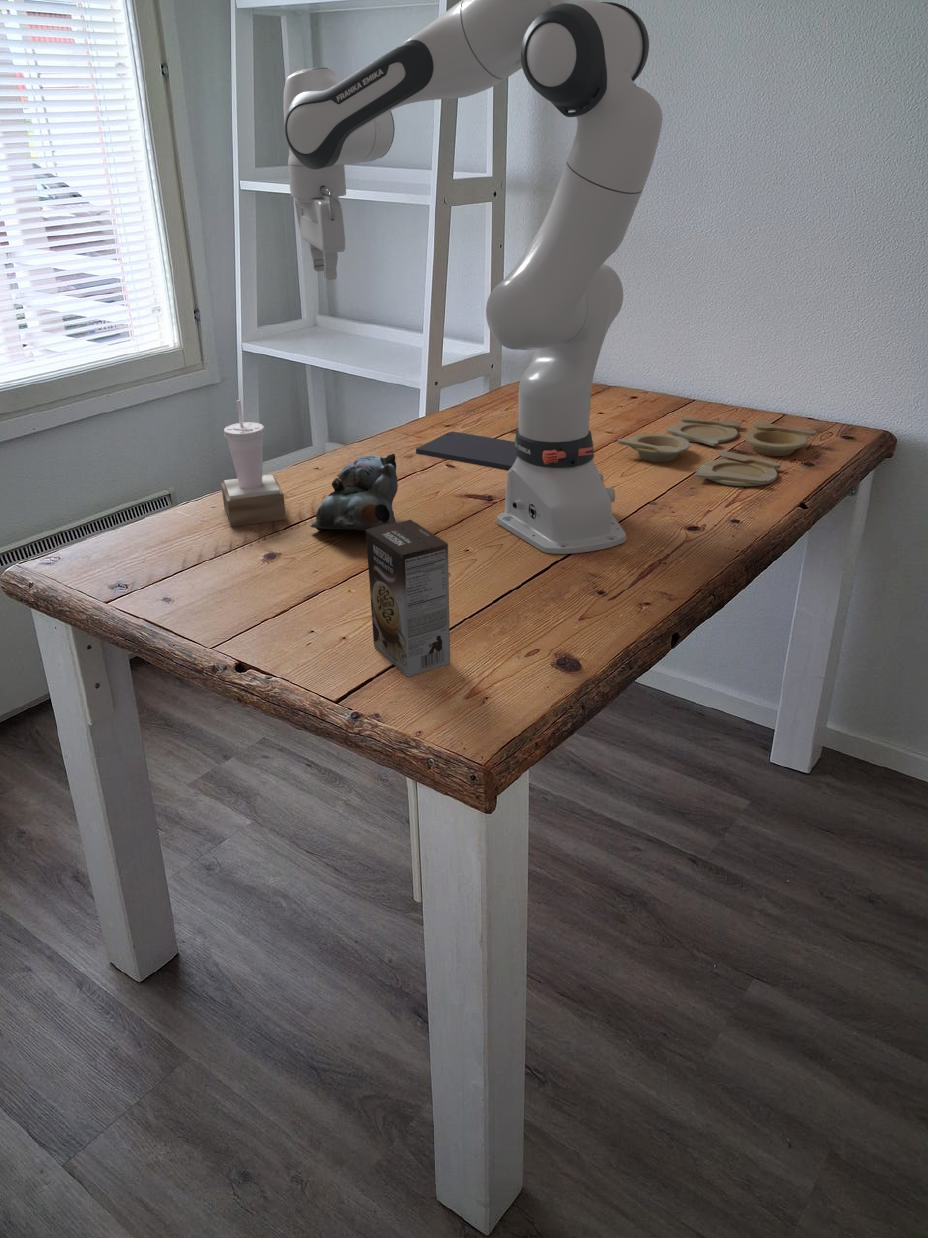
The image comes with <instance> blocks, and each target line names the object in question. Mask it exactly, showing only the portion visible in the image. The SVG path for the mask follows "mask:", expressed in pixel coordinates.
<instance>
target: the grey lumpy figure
mask: <svg viewBox="0 0 928 1238" xmlns="http://www.w3.org/2000/svg"><path fill="white" fill-rule="evenodd" d="M398 484H399V483H398V476H397V463H396V454H395V453H390V454H388V455H387V456H386V457H383V456H379V455H368V454H367V455H364V456H358V457H356V459H355V460H354V461H351V462H350V463H348V464H346V465H345V466H344V467H343V469H342V470H341V471H340V473H338V477H335V478H334V479H333V480H332V482H331V487H332V488H333V490H334V491H331V492H330V493H329V494H328V495H327V497H326V498H324V499H323V500H322V502H321V504H320V506H319V507H318V509H317V511H316V513H315V521H314V522H312V523H311V524H310V525H309V527H311V528H314V529H316V530H317V531H321V530H355V531H356V530H357V531H363V532H365V530H367V529H370V528H374V527H378V526H382V525H385V524H391V523H397V522H396V517H395V513H394V510H393V503H394V502H393V501H394V499H395V497H396V495H397V493H398V487H399V485H398Z"/></svg>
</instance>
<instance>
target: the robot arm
mask: <svg viewBox="0 0 928 1238" xmlns="http://www.w3.org/2000/svg"><path fill="white" fill-rule="evenodd" d="M649 51H650V38H649V34H648V29H647V28H646V26H645V23H644V21H643V20H642V19H641V17H640V16H639V15H638V14H637V13H636V12H635V11H634V10H632V9H631V8H629V7H627V6H625V5H622V4H619V3H617V2H609V1H597V0H580V1H576V2H570V3H567V2H566V1H565V0H460V1H459V2H457V3H456V4H454V5H453V6H452V7H451V8H449V9H448V10H447V11H445V12H444V13H443V14H441V15H439V16H438V17H437V18H435V19H434V21H432V22H430V23H429V24H428V25H427V26H425V27H424V28H422V29H421V30H419V31H418V32H416V33H415V34H413V35H412V36H409V38H407V39H406V40H405V41H403V42H402V43H400V44H399V45H397V46H396V47H395V48H393V49H391V50H390V51H388V52H386V53H384V54H383V55H381V56H380V57H378V58H376V59H375V60H372V61H371V62H370V63H368V64H367V65H365V66H363V67H362V68H360V69H359V70H357V71H355V72H354V73H352V74H351V75H349V76H347V77H346V78H344V79H341V78H340V77H339V75H337V73H336V72H335V71H334V70H332V68H331V69H330V68H328V67H323V66H322V67H312V68H304V69H300V70H297V71H295V72H293V73H290V75H288V76H287V78H286V80H285V83H284V89H283V121H284V134H285V139H286V142H287V144H288V148H289V150H288V159H287V160H288V161H287V164H288V167H287V168H288V176H289V178H288V179H289V191H290V196H291V197H292V198H294V203H295V204H294V205H295V211H296V218H297V223H298V229H299V232H300V235H301V238H302V240H304V241H306V242H308V244H309V245H308V247H309V251H310V255H311V259H312V269H313V270H314V271H315V272H323V276H324V278H325V279H326V280H328V281H331V280H336V279H337V277H338V275H337V273H338V272H337V265H338V257H339V255H338V253H343V252H344V251H345V249H346V235H345V226H344V225H345V224H344V223H345V222H344V214H343V208H342V204H341V202H340V198H339V197H344V196H346V195H347V187H346V184H347V183H346V171H345V165H352V164H359V163H368V162H373V161H376V160H378V159H381V158H383V157H385V155H387V154H388V152H389V150H390V148H391V147H392V145H393V142H394V137H395V121H394V116H393V113H392V111H393V110H395V109H398V108H400V107H403V106H405V105H406V106H407V105H409V104H414V103H419V102H427V101H438V100H450V99H451V100H452V99H462V98H467V97H470V96H474V95H476V94H478V93H481V92H484V91H486V90H489V89H491V88H493V87H495V86H496V85H498V84H500V83H501V82H503V81H505V80H506V79H508V78H509V77H511V76H512V75H514V74H515V73H516V72H518V71H520V70H521V69H522V71H523V74H524V76H525V78H526V80H527V82H528V83H529V84H530V86H531V87H532V88H533V89H534V91H536V92H537V93H538V94H539V95H540V96H541V97H543V98H544V99H545V100H547V101H549V102H550V103H551V104H552V105H553V106H554V107H555V108H556V109H557V110H558V111H559V112H560V113H561V114H562V115H563V116H564V117H566V118H576V121H577V127H576V132H575V136H574V140H573V142H572V146H571V148H570V151H569V154H568V157H567V160H566V162H565V165H564V168H563V171H562V174H561V177H560V180H559V183H558V185H557V188H556V190H555V194H554V196H553V199H552V202H551V204H550V206H549V209H548V212H547V213H546V216H545V218H544V220H543V222H542V223H541V226H540V228H539V229H538V231H537V233H536V234H535V236H534V238H533V239H532V241H531V242H530V244H529V245H528V246H527V248H526V250H525V251H524V253H523V254H522V256H521V258H520V260H519V261H518V262H517V264H515V266H514V267H513V268H512V270H511V271H510V272H509V274H508V275H507V276H505V278H504V279H503V280H502V281H500V282H499V283H498V284H497V285H496V286H495V287H494V288H493V289H492V291H491V292H490V293H489V296H488V299H487V301H486V307H485V308H486V309H485V316H486V322H487V326H488V329H489V331H490V333H491V334H492V336H493V338H494V339H495V340H496V342H498V344H500V345H502V346H503V347H504V348H506V349H508V350H509V349H510V350H514V351H515V350H517V351H518V350H519V351H534V354H533V357H532V359H531V361H530V364H529V365H528V367H527V368H526V370H525V372H523V374H522V376H521V379H520V381H519V383H518V429H517V430H516V431H515V439H514V442H515V453H516V455H517V458H516V460H515V462H514V464H513V466H512V467H511V468H510V470H509V471H508V470H507V473H506V485H505V487H506V488H505V497H504V498H505V500H504V510H503V512H500V514H498V515H497V517H496V523H497V525H499V526H501V527H502V528H503V529H505V530H507V531H509V532H510V533H512V534H514V535H516V537H518V538H520V539H522V540H523V541H525V542H527V543H528V544H530V545H531V546H533V547H535V548H536V549H537V550H540V551H541V552H543V553H545V554H557V555H559V554H563V555H565V554H566V555H567V554H577V553H578V554H579V553H580V554H581V553H586V552H587V553H588V552H593V551H599V550H604V549H609V548H613V547H615V546H619V545H621V544H623V543H624V542H626V541H627V534H626V532H625V530H624V529H623V528H622V526H621V525H620V523H619V521H618V520H617V519H616V518H615V516H614V515H613V513H612V512H613V510H612V503H614V502H615V499H616V492H615V489H614V488H613V487H606V486H605V483H604V474H603V473H599V470H598V468H597V466H596V464H595V461H594V458H595V452H594V451H595V450H594V449H595V447H594V440H593V438H592V435H593V434H592V431H591V430H590V420H591V419H590V416H591V403H592V402H591V399H592V398H591V397H592V387H593V381H594V375H595V371H596V366H597V365H598V364H597V363H598V360H599V358H600V353H601V350H602V347H603V344H604V342H605V339H606V336H607V333H608V331H609V329H610V326H611V324H613V321H614V320H615V319H616V318H617V316H618V314H619V313H620V312H621V309H622V306H623V304H624V287H623V283H622V281H621V279H620V276H619V275H618V273H617V272H616V271H615V270H614V269H613V268H612V267H611V266H609V265H608V264H606V263H605V262H606V261H607V260H608V259H609V258H610V257H611V256H612V255H613V254H614V253H615V252H616V251H617V250H618V248H619V247H620V246H621V244H622V242H623V240H624V238H625V236H626V234H627V231H628V228H629V226H630V224H631V220H632V218H633V216H634V214H635V211H636V209H637V206H638V203H639V200H640V198H641V196H642V194H643V191H644V189H645V186H646V183H647V180H648V178H649V175H650V172H651V170H652V166H653V164H654V159H655V156H656V152H657V149H658V144H659V140H660V138H661V137H660V135H661V131H662V127H663V126H662V125H663V111H662V108H661V105H660V104H659V101H657V100H656V98H655V97H654V96H653V95H652V94H651V93H650V92H649V91H647V89H644V88H642V87H640V86H639V85H637V84H636V83H635V81H636V80H637V79H638V77H639V76H640V75H641V73H642V71H643V70H644V68H645V66H646V63H647V60H648V56H649Z"/></svg>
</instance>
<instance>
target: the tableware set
mask: <svg viewBox="0 0 928 1238" xmlns="http://www.w3.org/2000/svg"><path fill="white" fill-rule="evenodd" d="M742 424H743V423H742V422H741V421H736V420H735V421H734V420H712V419H703V418H696V417H695V418H694V417H685V416H682V417H681V419H680V422H679V423H676V424H674V425H672V426H671V427H667V428H666V430H665V431H666V432H665V433H641V434H636V435H634V436H632V437H630V438H629V439H628V438H627V439H626V438H618V439H617V444H619V445H623V446H628V447H630V449H632V450H635V451H636V452H637V453H638V454H639V458H640V459H642V460H644V461H648V462H653V463H669V462H672V461H674V460H676V459H677V458H678V456H679V454H681V453H683V452H686V451H688V450H689V448H690V447H691V443H697V444H698V443H699V444H705V445H708V446H711V447H717V446H718V445H719V444H720V443H721V444H722V443H728V442H730V441H733V440H735V439H736V438H737V437H738V435H739V433H738V430H737V429H736V428H740V427H741V426H742ZM753 427H754V428H755V429H754V430H753V429H752V430H749V431H748V432H746V433H745V434H744V440H745V442H746V443H748V444H750V445H751V446H754V449H755V451H756V452H757V453H758V454H759V453H760V454H761V455H766V456H772V457H785V456H789V455H791V454H793V452H795V450H797V449H800V448H802V447H805V446H806V445H807V443H808V438H807V437H806V436H809V437H814V436H817V432H818V431H816V430H814V429H806V428H795V427H787V426H782V425H781V426H780V425H776V424H773V423H770V422H755V423H754V424H753ZM690 442H691V443H690ZM718 456H719V457H722V458H720V459H714V460H710V461H707V462H705V463H703V464H701V466H700V468H699V469H697V470H696V471H695V473H694V477H696V478H701V479H707V480H709V481H712V482H715V483H718V484H722V485H727V486H734V487H735V486H736V487H758V486H764V485H768V484H771V483H773V482H775V481H776V480H777V478H778V472H777V470H776V469H780V468H781V466H782V465H781V463H778V462H774V461H770V460H766V459H761V458H757V457H753V456H747V455H744V454H741V453H739V454H738V453H735V452H730V451H726V450H720V451H719V453H718Z"/></svg>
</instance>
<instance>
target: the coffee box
mask: <svg viewBox="0 0 928 1238" xmlns="http://www.w3.org/2000/svg"><path fill="white" fill-rule="evenodd" d="M364 532H365V537H366V551H367V552H366V554H367V567H368V579H369V594H370V595H369V597H370V610H371V620H372V621H371V622H372V637H373V647H374V648H375V649H376V651H378V652H379V653H380V654H381V655H382V656H384V657H385V658H386V659H387V660H388V661H389V662H390V663H391V664H393V665H394V666H395V667H396V668H397V669H398V670H399V671H400V672H402V674H404V675H405V676H406V677H409V678H410V677H412V676H416V675H419V674H422V673H425V672H427V671H428V672H429V671H431V670H434V669H437V668H441V667H444V666H446V665H450V664H451V653H450V652H451V648H450V647H451V646H450V645H451V643H450V641H451V640H450V638H451V637H450V633H451V632H450V631H451V630H450V581H449V578H450V577H449V576H450V575H449V573H450V571H449V570H450V569H449V543H447V542H446V541H445V540H443V539H441V538H440V537H439V536H436V535H435V534H433V533H432V532H430V531H429V530H428V529H426V528H424V527H423V526H421V525H420V524H418V523H417V522H415V521H413V519H407V520H403V521H399V522H396V523H391V524H385V525H382V526H378V527H374V528H370V529H367V530H365V531H364Z"/></svg>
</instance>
